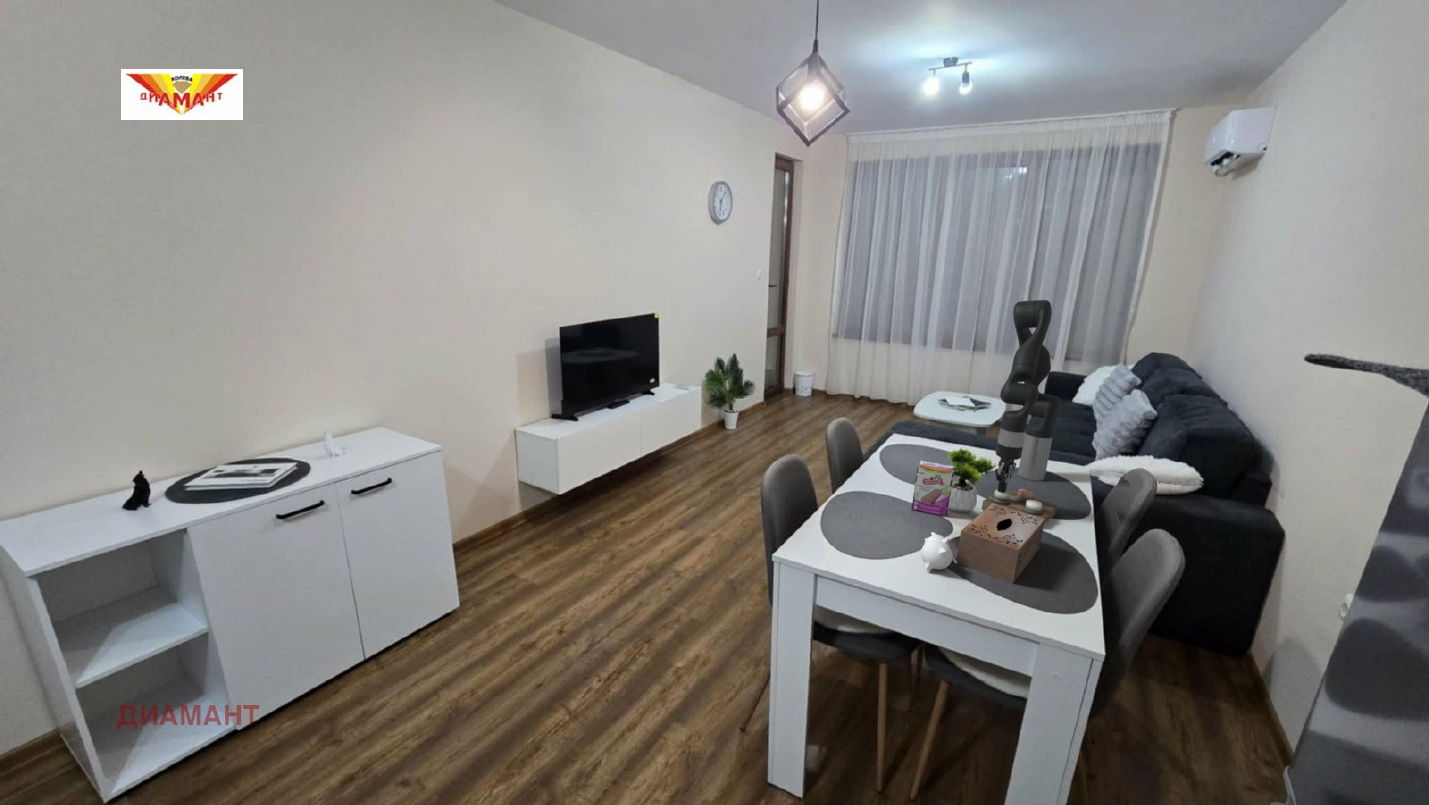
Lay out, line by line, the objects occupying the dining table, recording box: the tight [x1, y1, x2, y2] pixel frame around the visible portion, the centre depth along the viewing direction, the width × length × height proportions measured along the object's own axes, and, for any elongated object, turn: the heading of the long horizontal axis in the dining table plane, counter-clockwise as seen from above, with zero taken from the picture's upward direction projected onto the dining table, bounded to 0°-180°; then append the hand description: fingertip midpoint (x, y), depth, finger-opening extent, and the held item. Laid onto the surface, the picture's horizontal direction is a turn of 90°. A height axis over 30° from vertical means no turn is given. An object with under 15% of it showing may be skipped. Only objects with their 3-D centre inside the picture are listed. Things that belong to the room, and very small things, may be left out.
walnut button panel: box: [981, 488, 1059, 525], centre depth 188 cm, size 17×18×4 cm
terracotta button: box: [1017, 488, 1034, 500], centre depth 190 cm, size 4×4×2 cm
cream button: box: [1026, 500, 1042, 511], centre depth 181 cm, size 4×4×2 cm
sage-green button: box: [993, 488, 1009, 500], centre depth 188 cm, size 4×4×2 cm
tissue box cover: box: [955, 503, 1046, 585], centre depth 158 cm, size 26×14×10 cm, turn 137°
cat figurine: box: [920, 531, 958, 571], centre depth 152 cm, size 9×11×12 cm
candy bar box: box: [911, 460, 956, 518], centre depth 184 cm, size 11×5×16 cm, turn 65°
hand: (1001, 491), depth 188 cm, fingers closed
